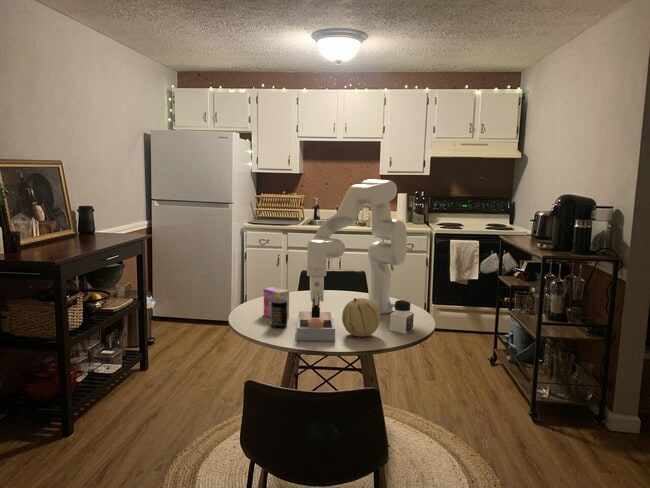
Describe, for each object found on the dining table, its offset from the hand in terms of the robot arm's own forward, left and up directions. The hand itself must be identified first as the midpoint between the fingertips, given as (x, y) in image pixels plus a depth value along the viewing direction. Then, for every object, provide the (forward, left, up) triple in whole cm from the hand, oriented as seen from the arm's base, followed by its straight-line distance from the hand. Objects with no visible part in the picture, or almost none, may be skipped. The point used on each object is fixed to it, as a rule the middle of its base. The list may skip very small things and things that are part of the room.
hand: (315, 317), depth 196 cm
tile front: (0, +8, -1) cm, 8 cm away
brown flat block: (0, -5, -5) cm, 7 cm away
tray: (0, +8, -5) cm, 10 cm away
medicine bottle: (-34, 0, -5) cm, 35 cm away
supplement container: (+15, -3, -5) cm, 16 cm away
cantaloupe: (-17, +8, -5) cm, 19 cm away
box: (+17, -17, -5) cm, 24 cm away
